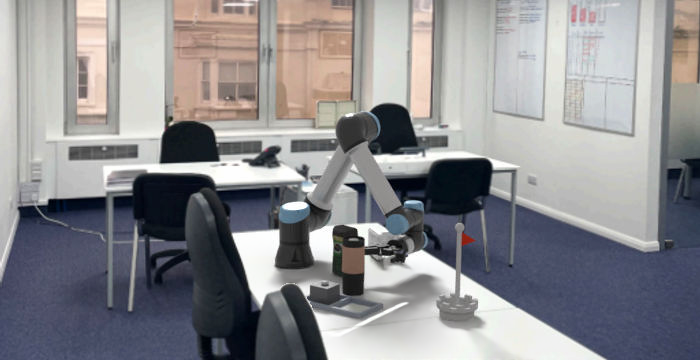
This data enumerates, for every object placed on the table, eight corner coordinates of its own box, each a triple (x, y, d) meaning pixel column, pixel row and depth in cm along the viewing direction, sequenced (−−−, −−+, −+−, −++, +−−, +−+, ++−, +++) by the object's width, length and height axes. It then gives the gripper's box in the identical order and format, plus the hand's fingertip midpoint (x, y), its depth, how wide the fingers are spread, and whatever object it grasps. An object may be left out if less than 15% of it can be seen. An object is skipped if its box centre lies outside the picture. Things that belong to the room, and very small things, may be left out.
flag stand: (431, 319, 254) (433, 225, 249) (441, 306, 266) (444, 217, 261) (472, 324, 249) (476, 229, 244) (481, 311, 261) (484, 220, 256)
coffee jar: (361, 275, 300) (362, 226, 297) (344, 279, 295) (345, 229, 292) (344, 269, 308) (345, 221, 305) (328, 273, 303) (328, 224, 300)
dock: (296, 306, 265) (296, 298, 264) (320, 296, 275) (321, 289, 275) (360, 321, 250) (360, 314, 250) (383, 310, 261) (383, 303, 261)
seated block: (309, 302, 265) (309, 282, 264) (322, 297, 271) (322, 277, 270) (327, 306, 261) (327, 285, 260) (339, 301, 267) (339, 280, 266)
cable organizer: (402, 261, 321) (403, 232, 319) (376, 262, 319) (377, 233, 317) (391, 251, 335) (391, 224, 334) (366, 253, 333) (366, 225, 331)
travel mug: (341, 292, 280) (341, 235, 277) (363, 291, 281) (363, 235, 277) (342, 299, 273) (343, 241, 269) (365, 298, 273) (366, 240, 270)
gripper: (429, 262, 292) (398, 276, 275) (371, 252, 306) (338, 264, 289) (429, 242, 291) (398, 254, 273) (371, 232, 305) (338, 243, 287)
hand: (367, 259), depth 281 cm, fingers open, 13 cm apart
